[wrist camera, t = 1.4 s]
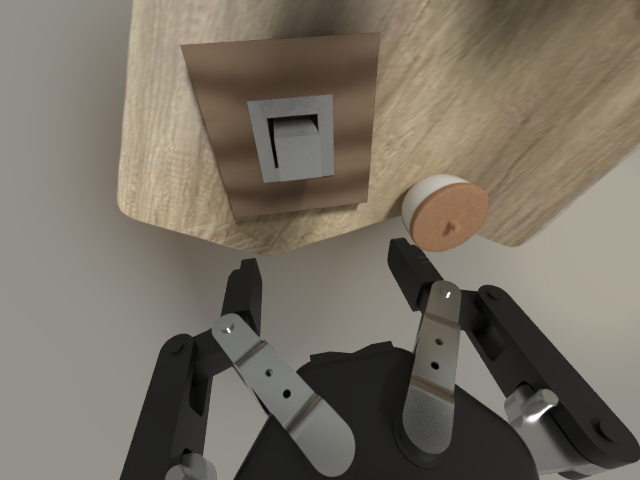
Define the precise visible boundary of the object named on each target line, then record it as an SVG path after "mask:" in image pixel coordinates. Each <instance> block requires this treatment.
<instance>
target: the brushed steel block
mask: <svg viewBox="0 0 640 480" xmlns="http://www.w3.org/2000/svg"><path fill="white" fill-rule="evenodd" d="M274 141H275V147H276V153H277V159H278V166H279V172H280V178H281V181H290V180H299V179H308V178H316V177H322V171H321V152H320V134H319V132H318V130H317V129H316V127H315V125H314V123H313V122H312V120H311V118H310V116H299V117H288V118H277V119H274Z"/></svg>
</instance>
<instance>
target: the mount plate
mask: <svg viewBox="0 0 640 480" xmlns="http://www.w3.org/2000/svg"><path fill="white" fill-rule="evenodd" d="M379 37H380V32H378V33H362V34H347V35H331V36H315V37H299V38H284V39H268V40H252V41H236V42H221V43H205V44H189V45H180V46H181V49H182V52H183V56H184V59H185V62H186V65H187V68H188V71H189V75H190V78H191V81H192V84H193V87H194V90H195V93H196V97H197V100H198V103H199V106H200V109H201V112H202V115H203V119H204V122H205V125H206V128H207V131H208V134H209V137H210V141H211V144H212V147H213V150H214V153H215V156H216V159H217V163H218V166H219V169H220V172H221V175H222V178H223V181H224V185H225V188H226V191H227V194H228V197H229V200H230V203H231V207H232V210H233V213H234V216H235V219H237V218H245V217H253V216H261V215H269V214H277V213H285V212H293V211H301V210H309V209H317V208H325V207H333V206H341V205H349V204H357V203H365V202H367V198H368V185H369V171H370V158H371V144H372V131H373V118H374V104H375V91H376V77H377V64H378V50H379ZM308 114H315V127H316V129H317V130H318V132H319V134H320V152H321V171H322V177H316V178H308V179H299V180H290V181H281V178H280V172H279V166H278V160H275V157H274V151H273V146H272V140H271V134H270V128H269V122H268V118H276V117H286V116H297V115H308Z"/></svg>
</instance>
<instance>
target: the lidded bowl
mask: <svg viewBox="0 0 640 480" xmlns="http://www.w3.org/2000/svg"><path fill="white" fill-rule="evenodd" d="M488 212H489V199H488V196H487V194H486V193H485V192H484V191H483V190H482V189H481V188H479V187H478V186H476V185H474V184H471V183H470V182H468V181H466V180H464V179H462V178H460V177H457V176H453V175H449V174H436V175H432V176H428V177H426V178H423V179H422V180H420V181H418V182H417V183H415V184H414V185H413V186H412V187H411V188H410V189H409V191H408V192H407V194H406V195H405V197H404V200H403V203H402V208H401V214H402V219H403V223H404V225H405V227H406V230H407V231H408V233H409V234H410V236H411V238H412V240H413V241H414V243H415V244H416V245H417V246H418V247H419V248H421V249H423V250H425V251H430V252H441V251H446V250H449V249H452V248H455V247H457V246H459V245H461V244H462V243H464V242H465V241H467V240H468V239H470V238H471V237H472V236H473V235H474V234H475V233H476V232H477V231H478V230H479V229H480V227H481V226H482V225H483V223H484V221H485V220H486V217H487V215H488Z"/></svg>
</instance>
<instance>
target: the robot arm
mask: <svg viewBox="0 0 640 480" xmlns="http://www.w3.org/2000/svg"><path fill="white" fill-rule="evenodd" d="M387 260H388V265H389V268H390V270H391V272H392V274H393V276H394V278H395V280H396V281H397V283H398V285H399V287H400V289H401V291H402V292H403V294H404V296H405V298H406V300H407V301H408V304H409V305H410V307H411V309H412V311H413V312H414V311H421V313H422V317H421V320H420V324H419V328H418V332H417V336H416V340H415V344H414V347H413V350H412V352H409V351H407V350H405V349H402V348H397V347H393V345H392V342H391V341H387V342H382V343H376V344H371V345H369V346H367V347H365V348H363V349H361V350H359V351H356V352H354V353H342V352H326V353H320V354H314V355H310V360H311V361H310V362H308V363H306V364H305V365H303V366H302V367H300V368H299V369H298V370H297V371H296V372H295V371H294V370H293V369H292V368H291V367H290V366H289V365H288V363H287V362H286V361H285V360H284V359H283V358H282V357H281V356H280V355H279V354H278V353H277V352H276V351H275V350H274V349H273V347H272V346H271V345H270V344H269V343H268V342H267V341H262V340H261V339H260V338H259V337H260V325H261V303H262V279H261V275H260V271H259V268H258V265H257V261H256V259H255V258H251V259H245V260H242V261H241V267H240V269H238V270H233V272H232V273H231V275H230V276H229V278H228V282H227V287H226V293H225V297H224V302H223V307H222V312H221V317H220V318H219V319H218V320H217V321H216V322H215V323H214V325H213V327H212V328H211V329H209V330H208V331H205V332H203V333H201V334H199V335H197V336H194V337H191V336H190V335H188V334H179V335H176V336H174V337H172V338H171V339H169V340H168V341H167V342H166V343H165V344H164V345H163V347H162V348H161V350H160V353H159V356H158V359H157V363H156V366H155V369H154V372H153V375H152V379H151V382H150V385H149V388H148V391H147V394H146V398H145V401H144V404H143V407H142V410H141V413H140V416H139V420H138V423H137V427H136V429H135V432H134V436H133V439H132V442H131V445H130V449H129V451H128V455H127V458H126V461H125V464H124V468H123V471H122V474H121V477H120V480H217V474H216V470H215V467H214V465H213V464H212V463H211V462H209V461H208V460H207V459H205V458H204V457H203V450H204V443H205V435H206V427H207V419H208V411H209V403H210V395H211V387H212V379H213V376H214V375H216V374H218V373H220V372H222V371H224V370H226V369H228V368H230V367H232V368H233V369H234V371H235V372H236V373H237V375H238V376H239V377H240V379H241V380H242V381H243V383H244V384H245V386H246V387H247V388H248V389H249V391H250V392H251V394H252V395H253V397H254V398H255V400H256V401H257V403H258V404H259V406H260V407H261V408H262V410H263V411H264V412H265V414H266V415H267V416H268V419H267V421H266V422H265V424H264V426H263V428H262V430H261V431H260V433H259V435H258V437H257V438H256V440H255V442H254V444H253V445H252V447H251V449H250V451H249V452H248V454H247V456H246V458H245V460H244V461H243V463H242V465H241V467H240V469H239V470H238V472H237V474H236V476H235V478H234V479H233V480H539V475H544V474H552V473H558V474H559V475H561V476H563V477H565V478H567V479H571V480H579V479H582V478H585V477H589V476H592V475H595V474H598V473H602V472H605V471H608V470H611V469H615V468H618V467H621V466H624V465H628V464H630V463H634V462H637V461H638V460H639V459H640V446H639V444H638V442H637V440H636V438H635V437H634V436H633V434H632V433H631V432H630V431H629V429H628V428H627V427H626V426H625V425H624V424H623V423H622V422H621V420H620V419H619V418H618V417H617V416H616V415H615V414H614V413H613V412H612V410H611V409H610V408H609V407H608V406H607V405H606V404H605V402H604V401H603V400H602V399H601V398H600V397H599V396H598V395H597V393H596V392H595V391H594V390H593V389H592V388H591V387H590V386H589V384H588V383H587V382H586V381H585V380H584V379H583V378H582V377H581V375H580V374H579V373H578V372H577V371H576V370H575V369H574V368H573V367H572V365H571V364H570V363H569V362H568V361H567V360H566V359H565V358H564V357H563V355H562V354H561V353H560V352H559V351H558V350H557V349H556V347H555V346H554V345H553V344H552V343H551V342H550V341H549V340H548V338H547V337H546V336H545V335H544V334H543V333H542V332H541V331H540V329H539V328H538V327H537V326H536V325H535V324H534V323H533V322H532V320H531V319H530V318H529V317H528V316H527V315H526V314H525V313H524V311H523V310H522V309H521V308H520V307H519V306H518V305H517V304H516V302H515V301H514V300H513V299H512V298H511V297H510V296H509V295H508V294H507V293H506V292H505V291H504V290H502V289H501V288H499V287H496V286H492V285H483V286H481V287H480V288H479V290H478V292H477V291H468V290H460V289H459V288H458V287H457V286H456V285H455V284H453V283H451V282H449V281H445V280H444V279H443V278H442V277H441V276H440V274H439V273H438V271H437V270H436V269H435V267H434V266H433V265H432V263H431V262H430V261H429V259H428V258H427V257H426V255H425V254H424V253H423V251H422V250H421V249H420V248H418V247H417V246H415V245H410V244H409V243H408V242H407V240H406V239H405V238H397V239H391V241H390V246H389V252H388V259H387ZM460 330H464V331H465V332H466V334H467V335H468V337H469V339H470V340H471V342H472V344H473V345H474V347H475V348H476V350H477V352H478V353H479V355H480V357H481V358H482V360H483V361H484V363H485V365H486V366H487V368H488V369H489V371H490V373H491V374H492V376H493V377H494V379H495V381H496V382H497V384H498V386H499V387H500V389H501V391H502V392H503V394H504V395H505V397H506V400H505V403H504V408H505V412H506V414H507V416H508V421H509V423H510V424H508V423H507V422H506V421H505V420H503V418H501V417H500V416H499V415H497V414H496V413H494V412H493V411H492V410H490V409H489V408H488V407H486V406H485V405H484V404H482V403H481V402H479V401H478V400H477V399H475V398H474V397H473V396H471V395H470V394H469V393H467V392H466V391H464V390H463V389H462V388H460V387H459V386H458V385H456V384H455V376H456V368H457V358H458V349H459V340H460Z"/></svg>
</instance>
